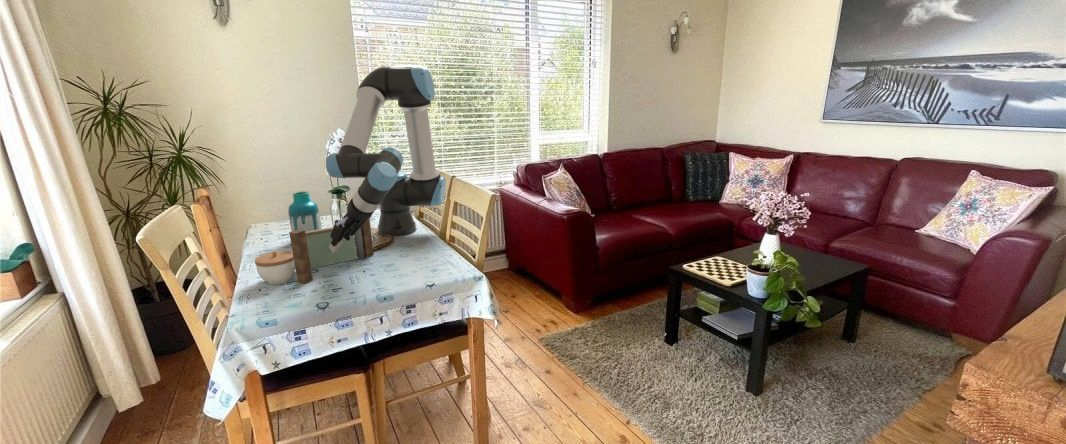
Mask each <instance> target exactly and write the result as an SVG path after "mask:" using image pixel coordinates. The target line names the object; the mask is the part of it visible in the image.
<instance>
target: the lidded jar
mask: <svg viewBox="0 0 1066 444" xmlns="http://www.w3.org/2000/svg"><path fill="white" fill-rule="evenodd" d="M254 264H255V268H256V270H257V273H258V275H259V277H260V278H261V279H262V280H263V281H264V282H266V283H267V284H268V285H280V284H285V283H287V282H289V281H290V280H291V278H292V277H293V275H294V274H295V273H296V269H295V263H294V258H293V252H292V251H290V250H289V251H288V250H279V251H276V250H273V251H272V252H269V253H264V254H261V255H259V256H257V257H255V259H254Z"/></svg>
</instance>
